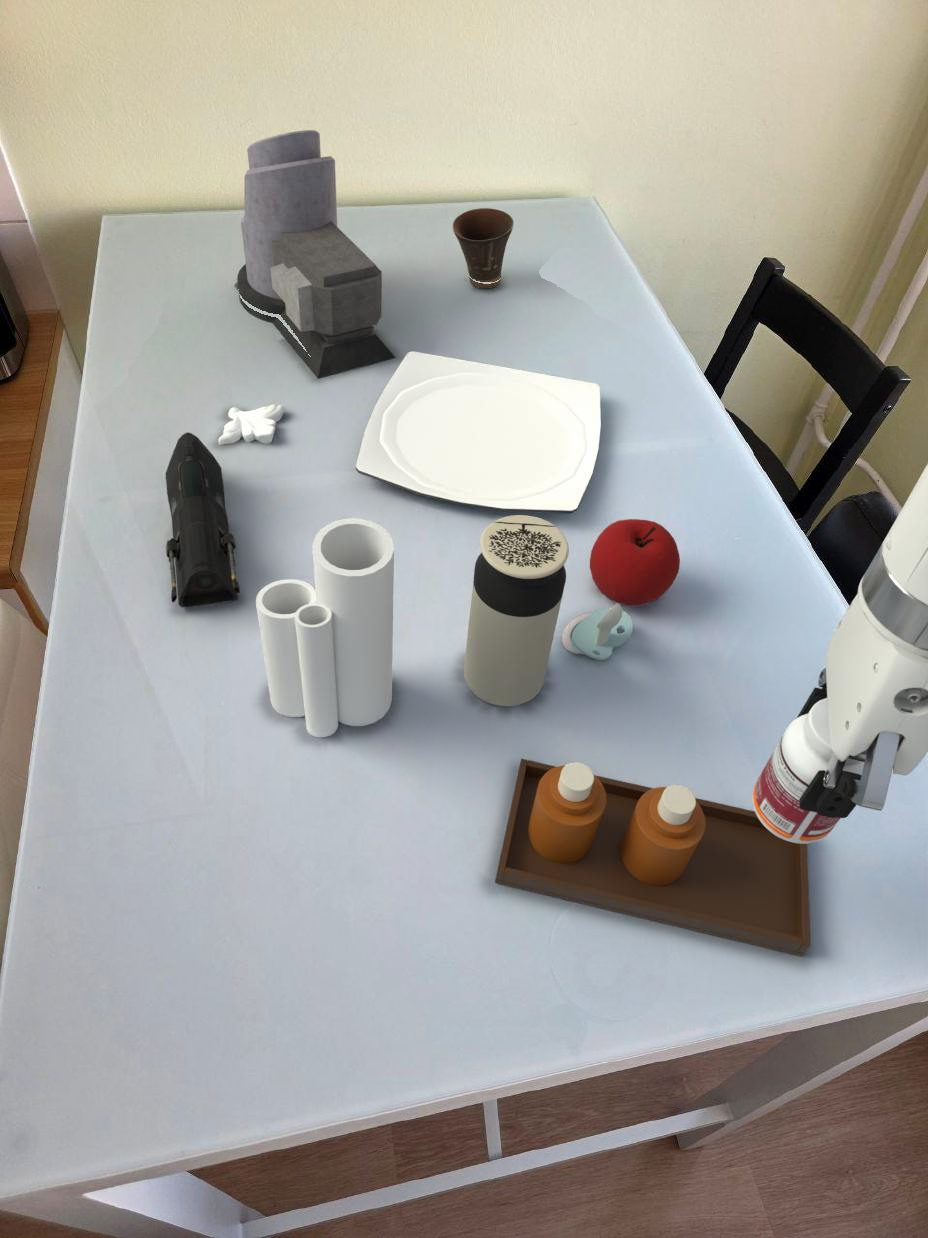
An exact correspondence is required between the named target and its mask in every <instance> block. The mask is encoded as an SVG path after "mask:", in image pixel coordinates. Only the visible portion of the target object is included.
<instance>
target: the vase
mask: <svg viewBox="0 0 928 1238" xmlns="http://www.w3.org/2000/svg"><path fill="white" fill-rule="evenodd" d="M394 547H395V546H394V539H393V537H392V536H391V534H390V533H389V531H388V530H386V529H385V528H384V527H383V526H382V525H380V524H378V523H376V522H374V521H372V520H369V519H364V518H357V517H353V518H352V517H351V518H350V517H349V518H342V519H338V520H335V521H332V522H330V523H328V524H327V525H325V526H323V527H322V528H320V530H319V531H318V532H317V533H316V534H315V537H314V539H313V541H312V562H313V574H314V586H312V585H311V584H310V583H308V582H306V581H303V580H300V579H293V578H290V579H279V580H276V581H273V582H271V583H269V584H267V585H265V586H263V588H261V589H260V590H259V591H258V593H257V594H256V597H255V606H256V613H257V621H258V627H259V632H260V639H261V645H262V653H263V658H264V660H263V661H264V666H265V673H266V679H267V685H268V693H269V698H270V703H271V706H272V709H274V710H275V712H277V713H278V714H280V715H281V716H284V717H288V718H290V717H291V718H301V717H304V718H305V727H306V731H307V732H308V734H309V735H311V736H312V737H315V738H327V737H330V736H332V735H334V734H335V733H336V731H337V730H338V729H339V722H340V723H341V724H342V725H346V726H350V727H365V726H369V725H372V724H375V723H377V722H378V721H380V720H381V719H382V718H384V717H385V715H387V713H388V712H389V710H390V707H391V704H392V701H393V653H394V652H393V651H394V650H393V647H394V646H393V644H394V640H393V639H394V638H393V637H394V578H395V577H394V575H395V573H394V572H395V548H394ZM314 587H315V588H314Z"/></svg>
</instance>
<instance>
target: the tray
mask: <svg viewBox="0 0 928 1238" xmlns="http://www.w3.org/2000/svg"><path fill="white" fill-rule="evenodd" d="M519 763H520V764H519V767H518V772H517V776H516V780H515V781H516V782H515V786H514V790H513V795H512V800H511V806H510V809H509V814H508V817H507V822H506V823H507V824H506V827H505V832H504V837H503V842H502V847H501V852H500V856H499V861H498V865H497V870H496V875H495V879H494V883H495V884H498V885H502V886H507V887H510V888H514V889H519V890H524V891H527V892H530V893H536V894H540V895H543V896H549V897H552V898H556V899H561V900H564V901H568V902H573V903H578V904H581V905H586V906H590V907H594V908H598V909H602V910H606V911H609V912H614V913H619V914H622V915H627V916H631V917H636V918H639V919H642V920H643V919H644V920H648V921H652V922H657V923H661V924H665V925H669V926H673V927H677V928H681V929H685V930H690V931H693V932H697V933H702V934H706V935H710V936H715V937H718V938H723V939H727V940H731V941H735V942H740V943H743V944H747V945H748V944H749V945H752V946H756V947H760V948H764V949H769V950H773V951H777V952H782V953H785V954H789V955H794V956H797V957H803V955H804V954H805V953H807V951H808V950H809V949H810V948H811V919H810V916H811V915H810V892H809V891H810V890H809V887H810V886H809V863H808V862H809V861H808V843H807V844H799V843H793V842H789V841H786V840H783V839H781V838H779V837H777V836H775V835H774V834H773V833H771V832H770V831H769V830H768V829H767V828H766V827H765V826H764V825H763V824H762V823H761V821H760V820H759V818H758V817H757V815H756V813H755V810H750V809H745V808H742V807H739V806H738V807H737V806H733V805H728V804H723V803H720V802H716V801H711V800H706V799H703V798H697V797H695V799H696V802H697V803H698V804H699V806H700V807H701V809H702V811H703V813H704V816H705V822H706V826H705V832H704V834H703V836H702V838H701V840H700V842H699V844H698V846H697V847H696V849H695V851H694V853H693V855H692V857H691V858H690V860H689V862H688V864H687V866H686V868H685V869H684V871H683V873H682V875H681V876H680V877H679V878H678V879H677V880H675V881H674V882H672V883H670V884H666V885H650V884H647V883H644V882H642V881H640V880H638V879H637V878H635V877H634V876H633V875H632V874H631V873H630V872H629V871H628V870H627V868H626V867H625V865H624V863H623V861H622V858H621V853H620V846H621V842H622V839H623V837H624V835H625V832H626V830H627V827H628V825H629V822H630V820H631V817H632V815H633V813H634V810H635V808H636V805H637V803H638V801H639V799H640V798H641V796H642V795H643V794H644V793H646V792H647V791H649V790H651V789H654V788H655V787H654V788H653V787H649V786H645V785H640V784H636V783H631V782H626V781H622V780H618V779H613V778H609V777H604V776H600V775H596V774H594V775H595V776H596V777H597V778H598V779H599V780H600V782H601V783H602V785H603V787H604V789H605V792H606V806H605V809H604V812H603V815H602V817H601V820H600V823H599V826H598V828H597V831H596V834H595V837H594V839H593V842H592V845H591V848H590V849H589V851H588V852H587V854H586V855H585V856H583V857H582V858H581V859H579V860H577V861H574V862H570V863H558V862H553V861H550V860H548V859H546V858H544V857H543V856H541V855H540V854H539V853H538V852H537V851H536V850H535V849H534V847H533V846H532V844H531V842H530V839H529V835H528V825H529V821H530V817H531V813H532V809H533V805H534V801H535V797H536V793H537V789H538V785H539V782H540V780H541V778H542V777H543V776H544V774H545V773H547V772H548V771H549V770H551V769H553V768H555V767H557V766H555V765H553V764H546V763H544V762H538V761H534V760H530V759H525V758H520V762H519Z"/></svg>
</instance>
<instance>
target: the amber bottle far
mask: <svg viewBox="0 0 928 1238" xmlns="http://www.w3.org/2000/svg"><path fill="white" fill-rule="evenodd" d="M595 775H596V774H594V773H593V771H592V769H591V768H590V767H589V766H588V765H586V764H585V763H582V762H579V761H573V762H570V763H567V764H566V765H565V764H563V765H558V766H556V767H555V768H553V769H551V770H549V771H548V772H547V773H545V774H544V776H543V777H542V778H541V780H540V782H539V785H538V789H537V793H536V797H535V801H534V805H533V809H532V813H531V817H530V821H529V825H528V835H529V839H530V842H531V844H532V846H533V847H534V849H535V850H536V851H537V852H538V853H539V854H540V855H541V856H543V857H544V858H546V859H548V860H550V861H553V862H558V863H570V862H574V861H577V860H579V859H581V858H582V857H583V856H585V855H586V854H587V852H588V851H589V849H590V848H591V845H592V842H593V839H594V837H595V834H596V831H597V828H598V826H599V823H600V820H601V817H602V815H603V812H604V809H605V806H606V792H605V789H604V787H603V785H602V783H601V782H600V780H599V779H598V778H597V777H596V776H597V775H596V776H595Z"/></svg>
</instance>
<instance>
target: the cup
mask: <svg viewBox="0 0 928 1238" xmlns="http://www.w3.org/2000/svg"><path fill="white" fill-rule="evenodd" d="M514 223H515V222H514V219H513V217H512V216H511V215H510V214H508V213H507V212H506V211H504V210H500V209H496V208H491V207H490V208H489V207H481V208H473V209H469V210H466V211H465V212H462V213H461V214H459V215H458V216H457V217H456V218H455V219H454V220H453V222H452V232H453V233H454V235H455V237H456V239H457V241H458V244H459V246H460V248H461V251H462V253H463V257H464V259H465V260H464V261H465V263H466V267H467V272H468V277H469V275H470V277H471V278H472V279H475V280H476V281H480V282H495V281H497V280H499V279H500V278H501V279H500V280H499V281H498V282H495V283H491V284H483V283H478V282H475V281H473V280H472V279H471V278H470V277H469V282H470V284H471V285H472V286H473V287H475V288H478V289H481V290H487V289H491V288H495V287H497V286H498V285H499V284H500V283H501V280H502V267H503V262H504V256H505V253H506V247H507V243H508V241H509V239H510V236H511V234H512V232H513V228H514Z"/></svg>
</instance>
